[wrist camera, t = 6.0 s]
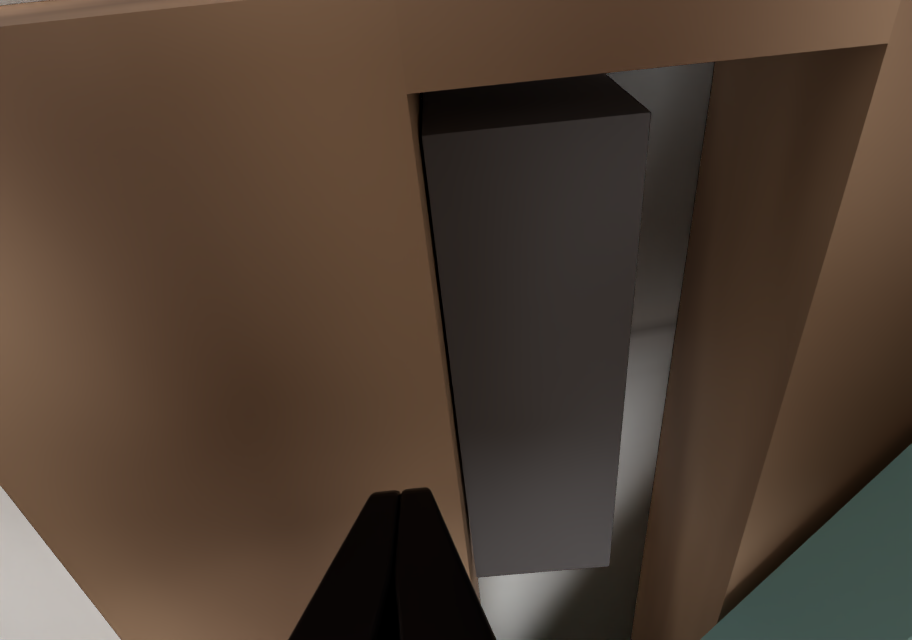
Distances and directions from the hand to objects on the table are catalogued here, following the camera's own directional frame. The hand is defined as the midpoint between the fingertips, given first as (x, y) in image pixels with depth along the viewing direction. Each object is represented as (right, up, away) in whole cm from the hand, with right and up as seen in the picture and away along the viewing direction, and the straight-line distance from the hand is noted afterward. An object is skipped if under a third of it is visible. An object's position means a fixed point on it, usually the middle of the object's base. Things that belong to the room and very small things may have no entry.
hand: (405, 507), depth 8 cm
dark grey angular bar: (+1, +2, +3) cm, 4 cm away
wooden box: (+2, -2, +7) cm, 8 cm away
